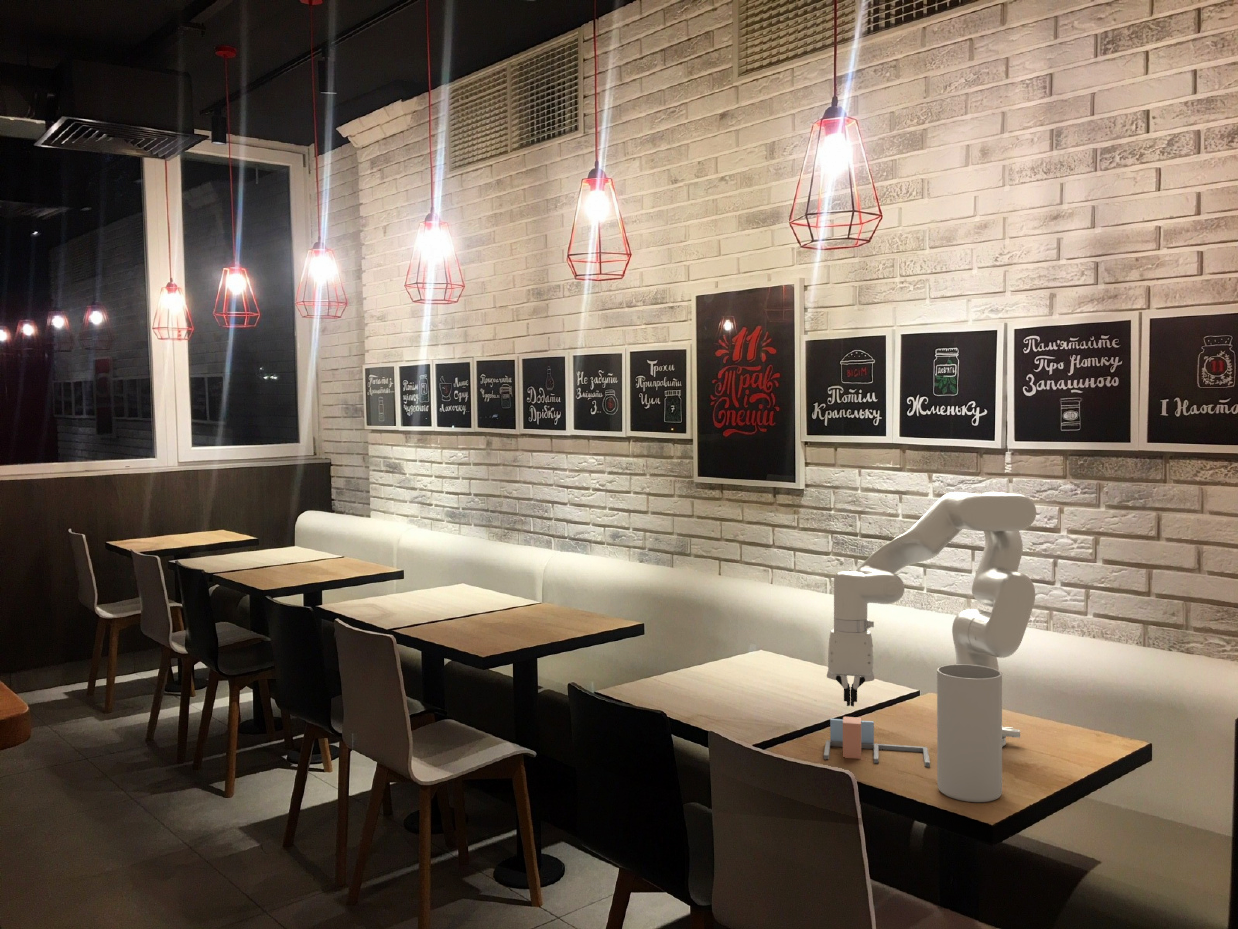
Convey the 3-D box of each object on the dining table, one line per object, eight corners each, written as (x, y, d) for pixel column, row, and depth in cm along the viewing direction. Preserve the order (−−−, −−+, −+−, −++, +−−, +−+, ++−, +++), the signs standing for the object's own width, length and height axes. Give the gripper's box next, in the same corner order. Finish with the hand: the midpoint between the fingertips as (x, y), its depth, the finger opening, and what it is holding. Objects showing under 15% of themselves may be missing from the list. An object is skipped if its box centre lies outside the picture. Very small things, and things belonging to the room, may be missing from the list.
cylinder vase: (1012, 791, 199) (1012, 670, 198) (986, 808, 190) (985, 682, 190) (954, 777, 208) (953, 661, 207) (926, 793, 199) (926, 672, 198)
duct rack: (927, 750, 226) (926, 724, 226) (929, 767, 214) (929, 740, 214) (826, 743, 232) (826, 718, 231) (823, 759, 220) (823, 733, 220)
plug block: (861, 751, 225) (861, 717, 225) (860, 758, 221) (860, 724, 220) (843, 750, 226) (843, 716, 226) (842, 757, 222) (842, 722, 221)
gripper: (884, 624, 224) (883, 702, 225) (818, 621, 228) (818, 698, 229) (884, 630, 217) (884, 711, 218) (816, 627, 221) (816, 707, 221)
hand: (850, 704), depth 223 cm, fingers closed
